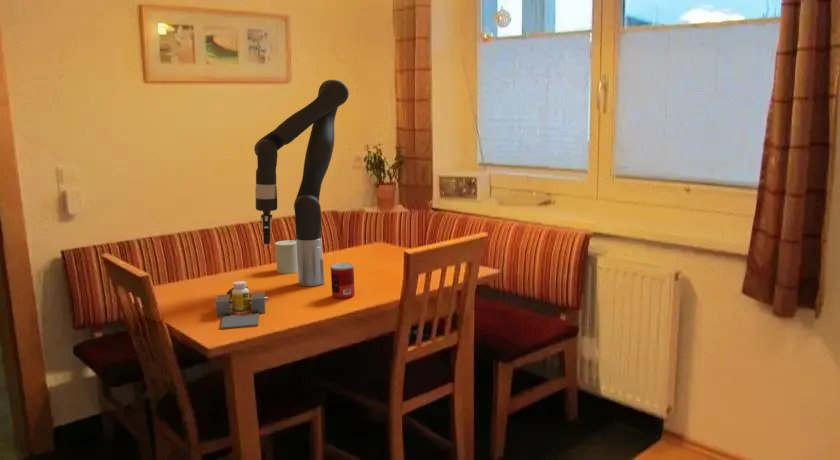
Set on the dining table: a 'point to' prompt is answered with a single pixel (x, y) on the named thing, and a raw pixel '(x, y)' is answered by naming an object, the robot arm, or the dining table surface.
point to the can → (286, 256)
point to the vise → (226, 303)
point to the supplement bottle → (240, 298)
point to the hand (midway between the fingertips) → (267, 241)
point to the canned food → (342, 280)
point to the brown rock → (231, 291)
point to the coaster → (239, 321)
